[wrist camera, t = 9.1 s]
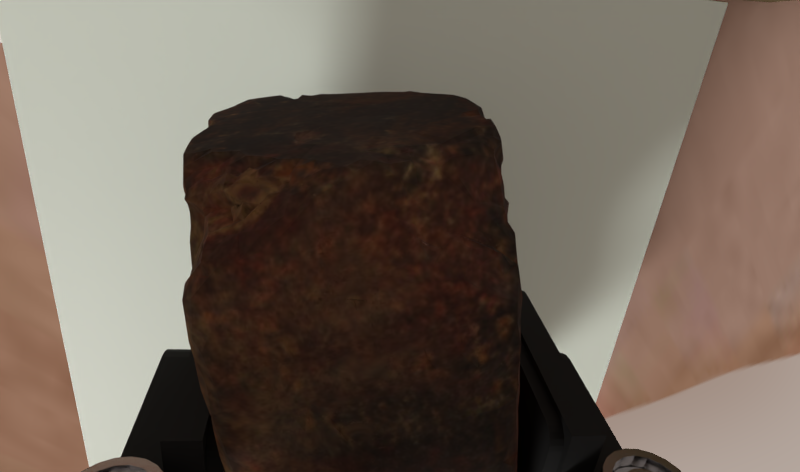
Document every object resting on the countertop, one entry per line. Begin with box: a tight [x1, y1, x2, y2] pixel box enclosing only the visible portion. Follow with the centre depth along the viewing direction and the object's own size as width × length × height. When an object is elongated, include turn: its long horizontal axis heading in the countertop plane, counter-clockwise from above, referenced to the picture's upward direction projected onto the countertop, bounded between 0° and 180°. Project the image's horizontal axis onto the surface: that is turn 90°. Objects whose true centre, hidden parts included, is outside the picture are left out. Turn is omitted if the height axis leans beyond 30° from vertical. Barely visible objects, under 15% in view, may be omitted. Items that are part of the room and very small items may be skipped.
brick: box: [182, 91, 522, 472], centre depth 10 cm, size 11×4×5 cm, turn 4°
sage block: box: [0, 0, 728, 467], centre depth 16 cm, size 14×14×6 cm
